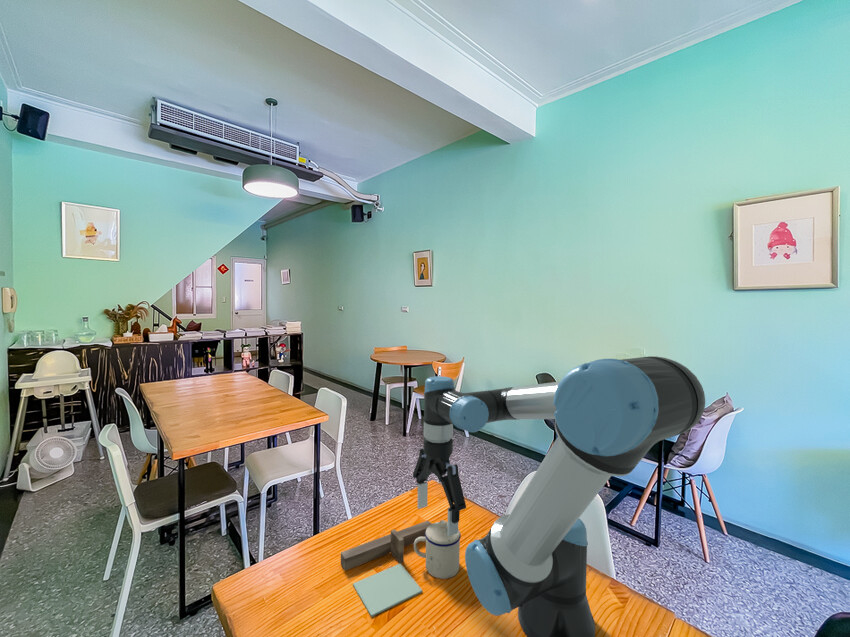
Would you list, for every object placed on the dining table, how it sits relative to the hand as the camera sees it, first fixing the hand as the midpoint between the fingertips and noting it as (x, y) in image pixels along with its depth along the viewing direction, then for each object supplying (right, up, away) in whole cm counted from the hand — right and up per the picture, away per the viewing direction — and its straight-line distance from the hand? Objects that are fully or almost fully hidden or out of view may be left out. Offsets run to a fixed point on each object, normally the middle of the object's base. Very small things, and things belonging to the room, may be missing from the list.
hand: (436, 519), depth 91 cm
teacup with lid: (0, -12, 0) cm, 12 cm away
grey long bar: (-11, -12, +4) cm, 17 cm away
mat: (-12, -12, -8) cm, 18 cm away
